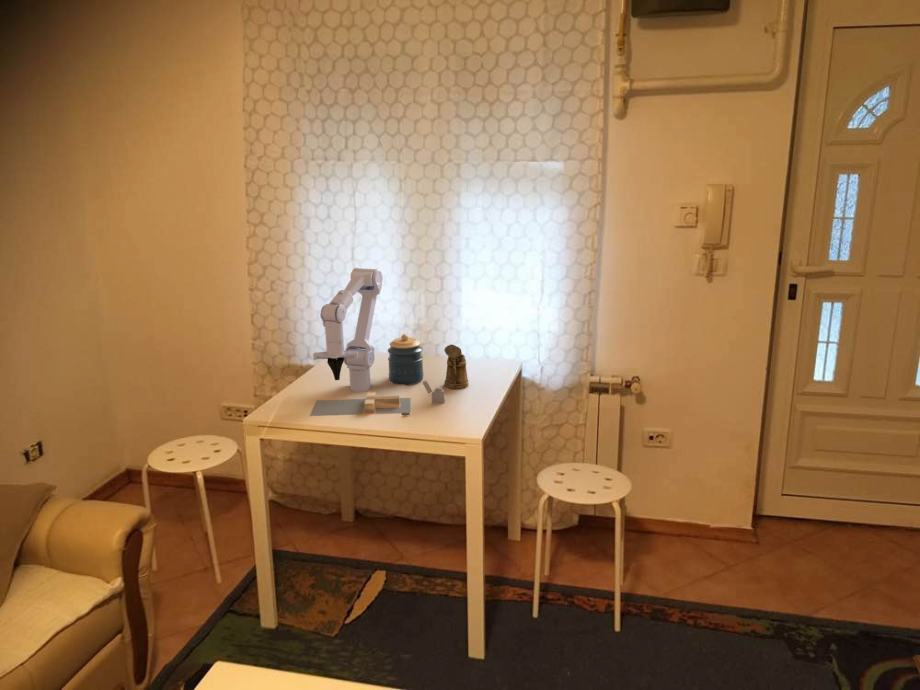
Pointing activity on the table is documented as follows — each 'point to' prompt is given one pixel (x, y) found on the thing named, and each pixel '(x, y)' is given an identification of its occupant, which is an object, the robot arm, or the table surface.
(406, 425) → the table surface
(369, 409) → the t block
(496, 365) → the table surface
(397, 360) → the canister
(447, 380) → the bronze figurine
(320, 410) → the slate board
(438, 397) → the lighter
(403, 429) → the table surface
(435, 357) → the table surface
